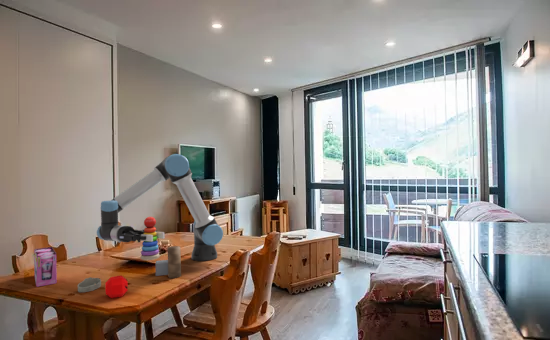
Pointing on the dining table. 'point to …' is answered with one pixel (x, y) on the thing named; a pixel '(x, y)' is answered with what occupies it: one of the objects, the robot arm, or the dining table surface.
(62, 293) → the dining table surface
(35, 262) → the gum box
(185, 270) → the dining table surface
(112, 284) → the ball
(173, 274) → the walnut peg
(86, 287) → the grey oval piece
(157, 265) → the grey cube
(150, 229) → the stacking toy
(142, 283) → the dining table surface
